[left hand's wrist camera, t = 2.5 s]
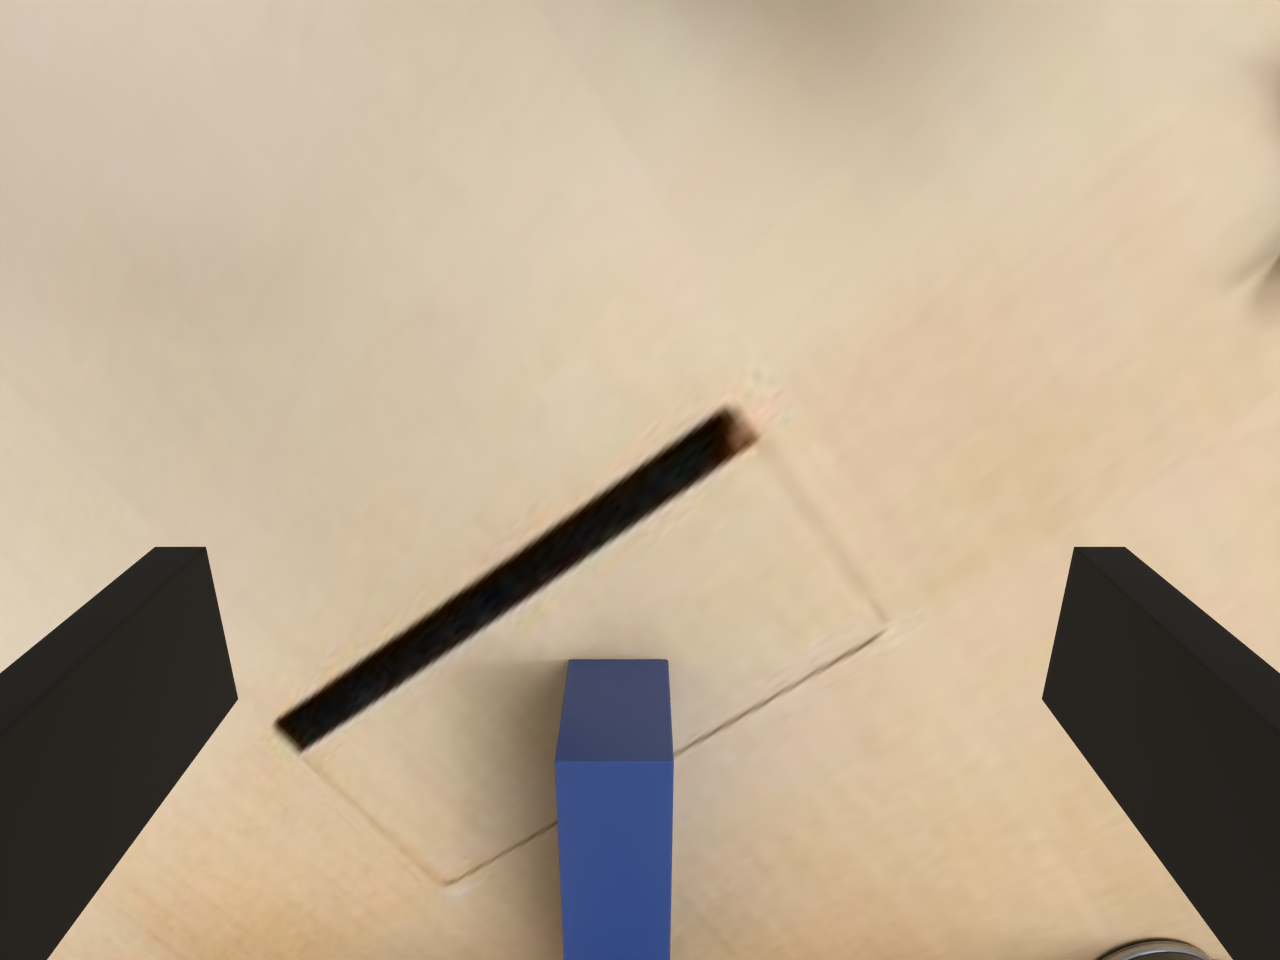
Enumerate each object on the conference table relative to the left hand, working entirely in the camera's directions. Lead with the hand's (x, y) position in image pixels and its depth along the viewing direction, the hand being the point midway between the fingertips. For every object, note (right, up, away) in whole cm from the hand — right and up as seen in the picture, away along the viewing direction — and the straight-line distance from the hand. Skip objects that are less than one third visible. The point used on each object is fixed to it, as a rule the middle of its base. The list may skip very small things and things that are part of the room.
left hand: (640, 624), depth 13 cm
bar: (-1, -20, +38) cm, 43 cm away
